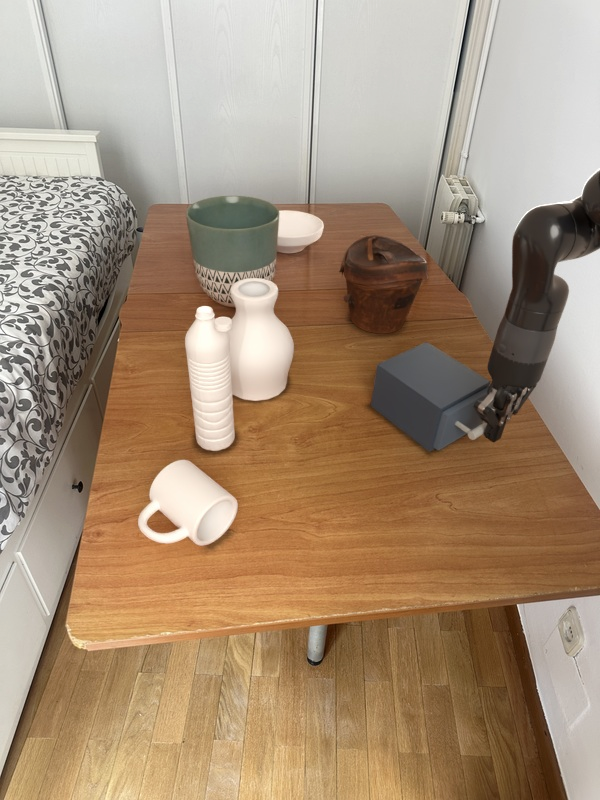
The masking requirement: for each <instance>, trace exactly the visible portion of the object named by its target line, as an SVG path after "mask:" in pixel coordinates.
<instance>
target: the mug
mask: <svg viewBox="0 0 600 800" xmlns="http://www.w3.org/2000/svg"><path fill="white" fill-rule="evenodd" d="M148 494H149V500H150V502H149V503H148V504H147V505H146V506H145V507H144V508H143V509H142V510H141V512H140V514H139V516H138V519H137V526H138V528H139V530H140V532H141V534H143V535H144V536H145V537H146V538H148V539H149V540H150V541H153V542H156V543H158V544H167V545H168V544H174V543H177V542H180V541H183V540H184V539H187V538H189V540H191V541H192V542H193V544H195V545H197V546H200V547H201V546H202V547H204V546H208V545H210V544H213V543H215V542H216V541H217V540H219V539H220V538H222V536H224V535H225V533H226V532H227V531H228V530H229V528H230V527H231V526H232V524H233V522H234V521H235V519H236V516H237V513H238V508H239V504H238V503H239V502H238V500H237V498H236V497H235V496H234V495H232V493H230V492H229V491H228V490H226V489H225V488H224V487H223V486H222V485H220V484H219V483H218V482H216V481H215V480H214V479H212V478H211V477H210V476H209V475H208V474H207V473H205V471H203V470H202V469H201V468H199V467H198V466H196V465H195V464H194V463H193V462H191V461H190V460H188V459H178V460H175V461H173V462H171V463H169V464H167V465H166V466H164V467H163V468H162V469H161V470H160V471H159V472H158V474H157V475H156V476H155V478H154V479H153V481H152V483H151V485H150V488H149V493H148ZM158 511H159V512H160V513H161V514H162V515H163V516H165V517H166V518H167V519H168V520H169V521H170V522H171V523H172V524H173V525H174V526H175V527H176V528H177V529H175V530H173V531H169V532H165V533H163V532H157V531H155V530H154V529H151V528H150V527H149V525H148V520H149V519H150V518H151V517H152V516H153V515H154V514H155V513H156V512H158Z"/></svg>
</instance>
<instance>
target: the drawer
mask: <svg viewBox="0 0 600 800" xmlns="http://www.w3.org/2000/svg"><path fill="white" fill-rule="evenodd" d="M487 390H488V387H486V388H485V389H483V390H481V391H479V392H477V393H476V394H475V393H474V394H473V395H471V396H469V397H467V398H465V399H463V400H462V401H460V402H459V403H458V404H456V405H454V406H452V407H450V408H449V409H447V410H445V411H443V412H442V415H441V419H440V423H439V426H438V430H437V434H436V438H435V441H434V445H433V447H434V448H435V449H434V450H437V452H438V451H441V450H442V449H445V448H446V447H448V446H449V445H450V444H453V443H454V442H456V441H457V440H459V439H460V438H462V437H464V436H465V435H467V437H468V438H469V440H472V441H475V440H477V439H478V438H479V437H482V436H484V433H485V429H486V426H487V423H486V422H484V421H483V420H481V419H480V417H479V416H478V414H477V412H476V410H475V409H474V404H475V402H476V401H478V400H479V401H480V402H481V401H484V400H485V398H486V397H487V396H488V395H487Z"/></svg>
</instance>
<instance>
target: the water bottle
mask: <svg viewBox="0 0 600 800" xmlns="http://www.w3.org/2000/svg"><path fill="white" fill-rule="evenodd" d="M215 316H216V315H215V312H214V309H213V308H212V307H211V306H208V305H201V306H199V307H198V308H196V313H195V315H194V317H195V320H194V321H193V323H192V324H191V325H190V327H189V328H188V329H187V332H186V333H185V338H184V348H185V353H186V361H187V371H188V379H189V389H190V398H191V402H192V403H191V405H192V411H193V412H192V415H193V421H194V430H195V439H196V443H197V445H198V446H199V447H200V448H201V449H204V450H206V451H212V452H218V451H222V450H225V449H228V448H229V447H230V446H231V445H232V444H233V443H234V442H235V438H236V431H235V418H234V400H233V397H234V395H233V394H232V381H231V365H230V342H229V336H228V333H227V331H229V330H231V329H232V320H231V319H232V318H230V317H229V316H219V317H216V318H215ZM225 329H226V330H225Z"/></svg>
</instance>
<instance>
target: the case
mask: <svg viewBox="0 0 600 800" xmlns="http://www.w3.org/2000/svg"><path fill="white" fill-rule="evenodd" d="M340 263H341V264H340V269H339V271H338V273H341V276H344V278H345V283H346V284H345V285H346V293H347V294H346V295H345V296H344V297H343V300H344V301H345V303H347V304H348V315H349V317H350V320H351V322H352V323H353V324H354V325H355V326H356V327H358V328H359V329H361V330H363V331H365V332H369V333H374V334H390V333H391V334H392V333H394V332H397V331H398V330H400V329H401V328H402V327H404V324H405V322H406V320H407V318H408V315H409V313H410V310H411V309H412V306H413V304H414V302H415V300H416V297H417V294H418V292H419V290H420V287H421V285H422V283H423V280H429V277H428V262H427V260H426V259H425V258H424V257H422V256H421V255H420V254H418V253H416V252H415V251H414V250H413V249H412V248H411V247H409V246H408V245H406V244H404V243H403V242H401V241H399V240H396V239H393V238H391V237H388V236H383V235H378V234H377V235H376V234H374V235H365V236H363V237H361V238H359V239H356V240H355V241H354V242H353V243H352V244H351V245H350V246H348V247H347V249H346V251H345V252H344V254H343V256H342V261H341V262H340Z"/></svg>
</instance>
